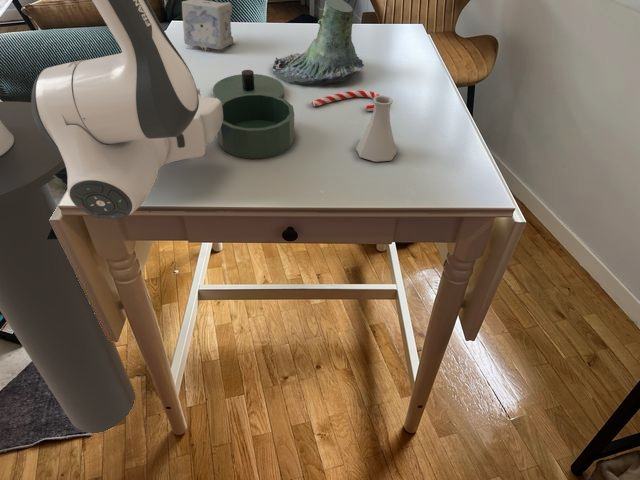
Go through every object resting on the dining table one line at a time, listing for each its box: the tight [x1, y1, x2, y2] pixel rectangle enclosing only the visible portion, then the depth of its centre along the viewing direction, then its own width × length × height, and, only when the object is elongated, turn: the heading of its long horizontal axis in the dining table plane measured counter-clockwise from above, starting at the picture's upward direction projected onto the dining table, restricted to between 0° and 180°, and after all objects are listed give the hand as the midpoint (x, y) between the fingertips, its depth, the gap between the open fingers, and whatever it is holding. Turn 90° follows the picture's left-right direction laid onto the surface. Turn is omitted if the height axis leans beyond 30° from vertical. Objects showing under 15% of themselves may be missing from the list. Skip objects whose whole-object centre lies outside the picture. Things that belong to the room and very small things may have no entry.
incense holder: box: [181, 0, 234, 52], centre depth 116 cm, size 10×8×10 cm
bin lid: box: [212, 69, 285, 102], centre depth 100 cm, size 15×15×5 cm
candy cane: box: [311, 90, 381, 112], centre depth 99 cm, size 8×1×15 cm
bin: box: [216, 93, 295, 160], centre depth 86 cm, size 14×14×6 cm
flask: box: [355, 94, 397, 163], centre depth 83 cm, size 7×7×10 cm
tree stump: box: [272, 0, 365, 86], centre depth 107 cm, size 18×20×18 cm
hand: (167, 91), depth 79 cm, fingers open, 8 cm apart
